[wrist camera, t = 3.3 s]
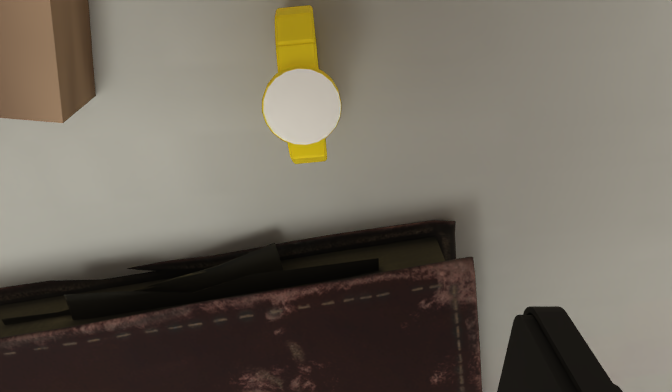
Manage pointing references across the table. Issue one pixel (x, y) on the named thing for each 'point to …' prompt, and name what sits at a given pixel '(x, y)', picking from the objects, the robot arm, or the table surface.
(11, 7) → the tan square block
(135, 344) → the diary
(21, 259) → the table surface
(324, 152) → the watch
